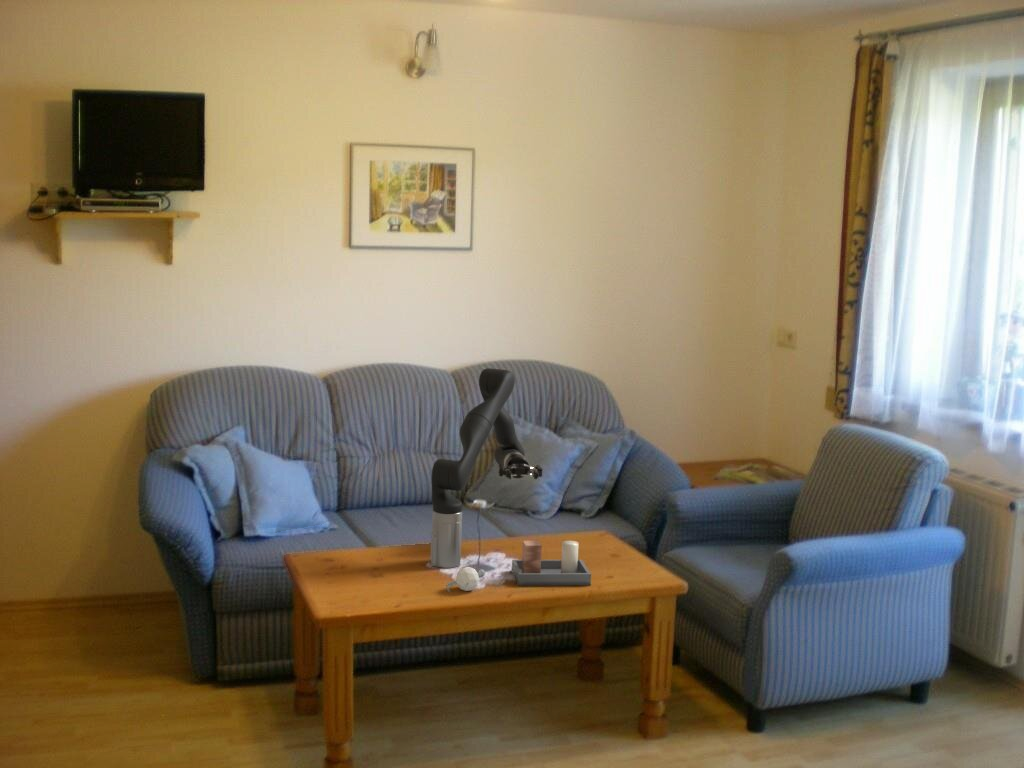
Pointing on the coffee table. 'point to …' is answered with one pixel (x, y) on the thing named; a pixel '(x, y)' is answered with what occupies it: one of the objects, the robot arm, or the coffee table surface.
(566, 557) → the cream cylinder
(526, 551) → the coral block
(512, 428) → the robot arm
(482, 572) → the alien figurine
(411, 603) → the coffee table surface
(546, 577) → the tray
